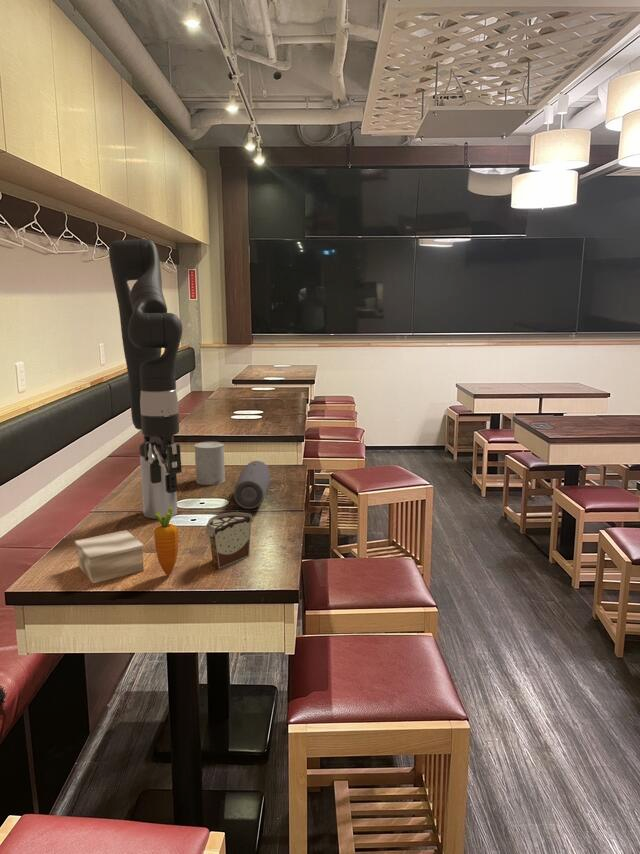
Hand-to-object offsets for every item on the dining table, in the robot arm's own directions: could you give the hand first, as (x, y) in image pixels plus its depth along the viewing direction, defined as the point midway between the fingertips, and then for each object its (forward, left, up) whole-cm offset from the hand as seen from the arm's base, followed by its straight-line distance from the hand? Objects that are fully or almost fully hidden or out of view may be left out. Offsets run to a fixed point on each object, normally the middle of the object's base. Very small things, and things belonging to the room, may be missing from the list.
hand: (163, 487), depth 133 cm
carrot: (0, 0, -20) cm, 20 cm away
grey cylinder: (-62, +40, -20) cm, 76 cm away
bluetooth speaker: (-35, +41, -20) cm, 57 cm away
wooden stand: (-11, -9, -20) cm, 24 cm away
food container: (-1, +14, -20) cm, 25 cm away
